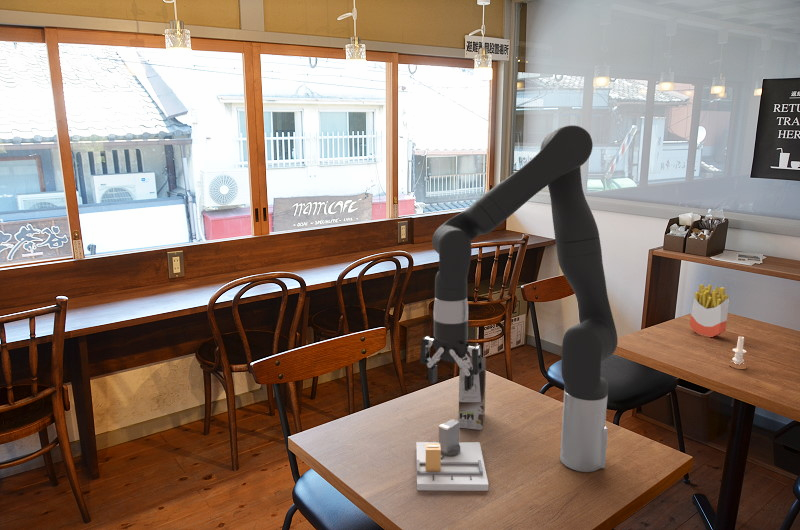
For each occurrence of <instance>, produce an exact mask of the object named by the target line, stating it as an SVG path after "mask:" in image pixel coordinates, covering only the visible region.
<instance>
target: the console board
mask: <svg viewBox="0 0 800 530" xmlns="http://www.w3.org/2000/svg"><path fill="white" fill-rule="evenodd" d="M415 443H416V447H415V448H416V490H417V491H446V492H447V491H448V492H449V491H453V492H454V491H455V492H456V491H458V492H460V491H461V492H463V491H469V492H472V491H474V492H476V491H477V492H478V491H479V492H482V491H484V492H487V491H489V479H488V475H487V472H486V470H487V469H486V467H485V466H486V465H485V462H484V461H485V460H484V456H483V452H482V448H481V443H480V442H479V441H478V442H477V441H476V442H474V441H473V442H471V441H470V442H467V441H465V442H460V441H459V445H460V453H459V454H457V455H455V456H445V455H442V454H441V472H434V471H426V444H439V441H432V442H431V441H416V442H415Z"/></svg>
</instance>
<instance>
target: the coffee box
mask: <svg viewBox="0 0 800 530" xmlns="http://www.w3.org/2000/svg"><path fill="white" fill-rule="evenodd" d="M468 357H469V359H470V363H471V364H472V356H468ZM462 361H463V358H462ZM486 373H487V357H483V356H482V371H481V372H479V373H478V374H477V375H474V385H473V387H472V388H471V389H470V390H469V391H465V390H464V381H465V375H466V374H465V373H464V371H463V370H462V368H460V367H459V379H458V380H459V384H458V386H459V387H458V388H459V389H458V416H457V417H458V418H457V419H458V420H457V421H459V422H460V423H459V429H470V430H478V431H479V430H480V431H481V430H483V427H484V420H485V413H486V412H485V411H486V409H485V408H486V382H487V381H486V380H487V379H486V378H487V376H486V375H487V374H486Z"/></svg>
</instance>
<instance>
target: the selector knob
mask: <svg viewBox="0 0 800 530" xmlns="http://www.w3.org/2000/svg"><path fill="white" fill-rule="evenodd" d="M459 423H460V422H459V421H458V420H457V419H456V420H455V419H453V418H451V419H449V420H448V421H446V422H445V423H441V424H439V425H438V442H439V444H440V447H441V454H442V455H445V456H455V455H457V454H459V453H460V445H459V442H460V428H459Z"/></svg>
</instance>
